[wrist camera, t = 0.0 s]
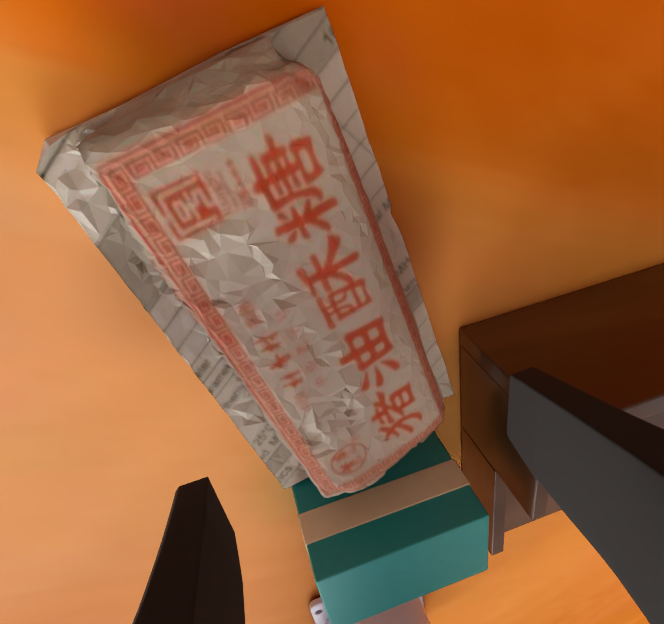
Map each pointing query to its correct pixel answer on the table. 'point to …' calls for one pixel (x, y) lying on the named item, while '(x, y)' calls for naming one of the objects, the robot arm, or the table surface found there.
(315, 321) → the packaged product
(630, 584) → the robot arm
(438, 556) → the block
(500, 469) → the step shelf
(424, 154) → the table surface
